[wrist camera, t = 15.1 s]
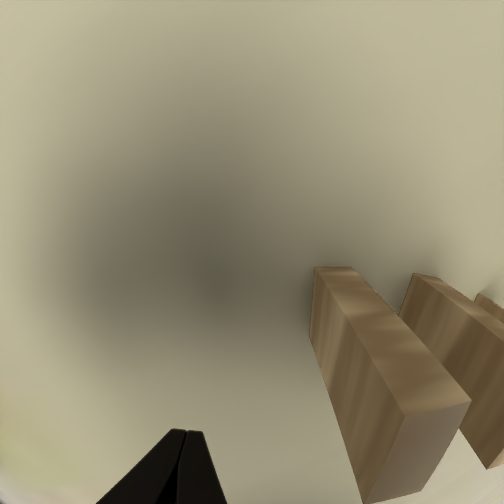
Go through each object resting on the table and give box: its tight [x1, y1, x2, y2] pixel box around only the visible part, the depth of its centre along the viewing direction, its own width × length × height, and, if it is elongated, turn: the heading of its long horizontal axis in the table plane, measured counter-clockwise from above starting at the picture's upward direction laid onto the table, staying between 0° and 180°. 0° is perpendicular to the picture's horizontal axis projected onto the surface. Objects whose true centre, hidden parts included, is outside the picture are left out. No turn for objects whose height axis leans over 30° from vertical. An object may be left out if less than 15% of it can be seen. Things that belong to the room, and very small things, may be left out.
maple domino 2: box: [399, 273, 504, 470], centre depth 12 cm, size 2×4×11 cm, turn 168°
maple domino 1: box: [309, 267, 472, 504], centre depth 12 cm, size 2×4×11 cm, turn 179°
